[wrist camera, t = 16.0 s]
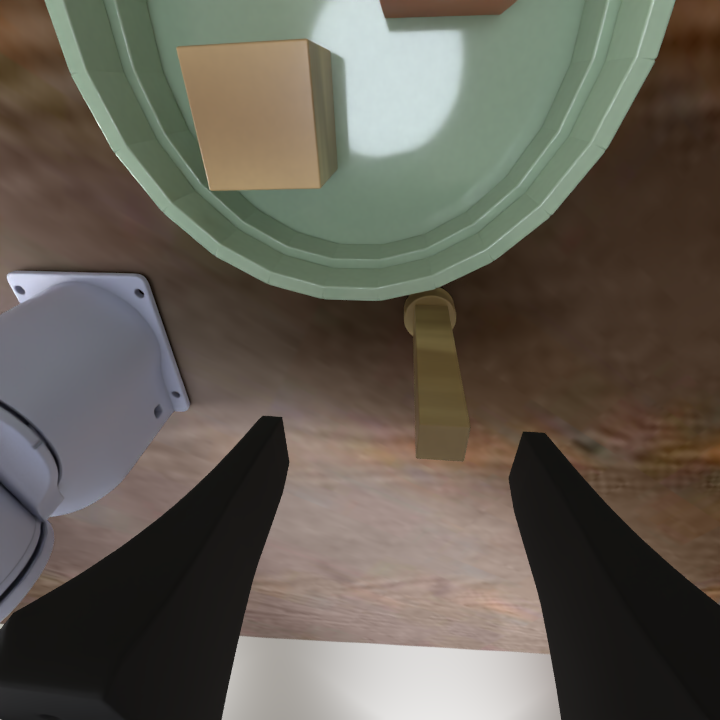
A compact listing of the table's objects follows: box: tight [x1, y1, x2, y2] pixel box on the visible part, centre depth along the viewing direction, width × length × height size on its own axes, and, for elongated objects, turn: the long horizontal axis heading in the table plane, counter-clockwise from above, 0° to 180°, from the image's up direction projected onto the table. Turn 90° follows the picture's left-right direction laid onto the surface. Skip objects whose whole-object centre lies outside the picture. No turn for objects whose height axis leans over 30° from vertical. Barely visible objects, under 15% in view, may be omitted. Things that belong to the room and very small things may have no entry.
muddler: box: [404, 288, 471, 461], centre depth 17 cm, size 3×3×10 cm
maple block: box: [176, 38, 338, 191], centre depth 14 cm, size 4×4×4 cm
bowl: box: [45, 0, 676, 301], centre depth 13 cm, size 17×17×5 cm
